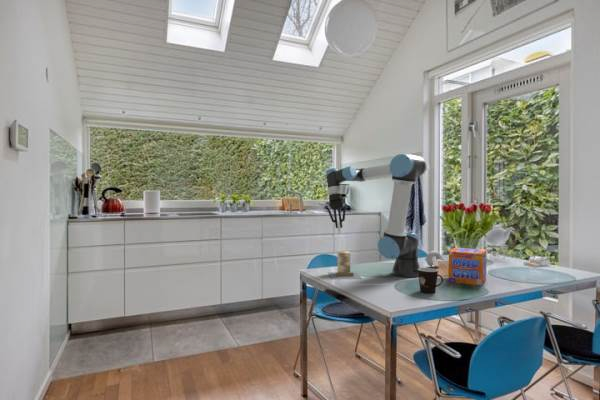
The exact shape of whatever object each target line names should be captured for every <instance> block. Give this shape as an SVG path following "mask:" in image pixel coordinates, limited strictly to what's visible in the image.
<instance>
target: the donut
mask: <svg viewBox="0 0 600 400" xmlns="http://www.w3.org/2000/svg"><path fill="white" fill-rule="evenodd" d="M433 257H435V261H436V260H437V259H442V260H443V256H442V254H441V253H440V252H439V251H437V250H431V251H429V252H428V253H427V255H426V257H425V260H426V264H427V265H428V266H429V267H431V268H433V267H432V265H433V262H434V261H433Z"/></svg>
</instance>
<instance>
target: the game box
mask: <svg viewBox="0 0 600 400" xmlns="http://www.w3.org/2000/svg"><path fill="white" fill-rule="evenodd" d="M447 273H448V275H447V276H448V277H447V278H448V280H447V281H448V283H449V282H450V283H457V284H458V283H459V284H466V285H471V286H472V285H473V286H479V287H480V286H481V287H482V286H483V285H484V284H485V282H486V281H487V249H481V248H469V247H467V248H465V247H453V248H452V249H450V250H448V272H447Z"/></svg>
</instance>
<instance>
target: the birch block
mask: <svg viewBox="0 0 600 400" xmlns="http://www.w3.org/2000/svg"><path fill="white" fill-rule="evenodd" d="M337 272H351V252H350V251H349V250H348V251H347V250H346V251H345V250H342V251H341V250H340V251H337Z"/></svg>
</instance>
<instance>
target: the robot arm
mask: <svg viewBox="0 0 600 400" xmlns="http://www.w3.org/2000/svg"><path fill="white" fill-rule="evenodd" d="M426 169H427V163H426V161H425V159H424V158H423V157H422V156H420V155H415V154H411V153H410V154H409V153H399V154H397V155H395V156H394V157H393V158H392V159H391V160H390V163H389V164H383V165H376V166H369V167H362V168H355V167H354V166H352V165H350V166H345V167H344V168H341V169H338V168H334V167H333V168H328V169H326V172H325V178H326V185H327V192H328V200H329V202H328V205H327V206H325V209H326V210H327V212H328V214H329V217H330V219H331V220H330V221H331V222H332V223H335V229H337V232H338V234H339V235H341V234H342V229H343V222H345V220H346V212H347V211H346V210H347V207H348V204H346V203H344V202H343V197H342V190H341V183H345V182H361V183H362V182H366V181H371V180H380V179H388V178H391V180H392V181H393V183H394V184H393V190H392V196H391V203H390V210H389V216H388V223H387V227H386V229H384V230H383V234H382V235H383V236H382V237H381V238H379V240H378V242H377V250H378V252H379V253H380V255H381V256H382V257H383V258H385V259H388V260H394V263H393V266H392V270H391V272H392V273H391V274H392V275H393V276H397V277H403V278H417V277H418V278H419V275H418V269H419V268H421V266H420V264H419V261H418V260H419V259H418V258H419V257H418V256H419V237H418V236H419V235H418V234H417V233H414V232H407V231H405V229H406V222H407V216H408V210H409V203H410V197H411V191H412V186H413V184H416V181H417V180H416V179H417V178H419V177H421V176H422V175H424V173H425V172H426ZM342 207H343V209H342ZM331 209H332V211H333V214H332V212H331ZM341 209H342V213H341ZM337 213H338V215H337ZM338 220H339V221H338Z"/></svg>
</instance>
